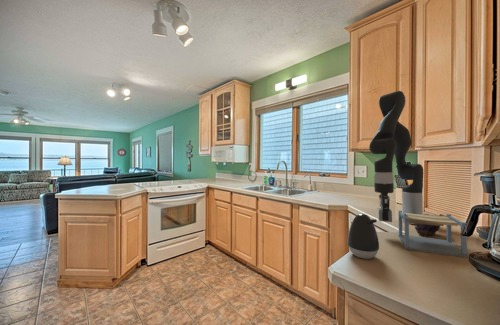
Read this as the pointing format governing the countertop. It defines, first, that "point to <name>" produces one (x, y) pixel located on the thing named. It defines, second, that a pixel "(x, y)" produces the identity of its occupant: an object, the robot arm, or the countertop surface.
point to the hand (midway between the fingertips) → (384, 218)
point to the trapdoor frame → (433, 240)
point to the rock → (426, 229)
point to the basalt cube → (382, 217)
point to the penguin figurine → (363, 237)
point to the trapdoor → (430, 219)
